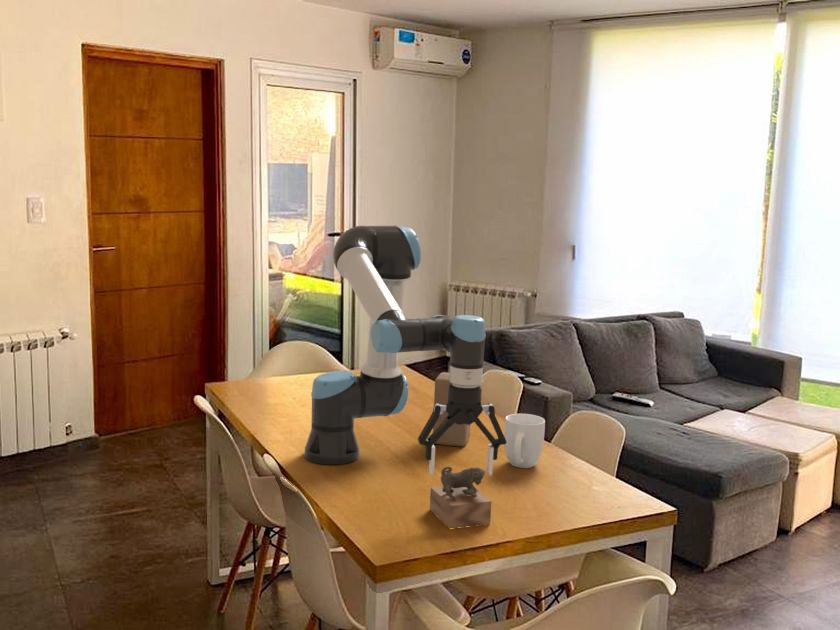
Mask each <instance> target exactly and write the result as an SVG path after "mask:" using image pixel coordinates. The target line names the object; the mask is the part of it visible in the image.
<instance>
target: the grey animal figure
mask: <svg viewBox="0 0 840 630" xmlns="http://www.w3.org/2000/svg"><path fill="white" fill-rule="evenodd" d="M452 471H453V469H452V467H451V466H446V467H443V469H442V470H441V476H440V482H441V484H442V486H443V490H442V491H443V492H446V494H447V495H448V496H449V497H450V498H451V499H452V500H453V501H456V498H455V497H454V496H453V495H452V494H451V493H452V492H454V490H453V489H451V488H452V487H453V488H461V487H466V488H468V489H465V490H462V492H463V493H465V494H467V495H472V496H477V494H476V491H477V490H478V489H477V488H476V487H475V485H474V483H475V484H476V485H478V486H479V485H481V483H482V480H483V478H484V476H485V474H486V473H485V472H486V471H485V470H484V469H482V468H480V467H470V468H466V469H463V470H461V471H458V472H452ZM476 489H477V490H476Z"/></svg>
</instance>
